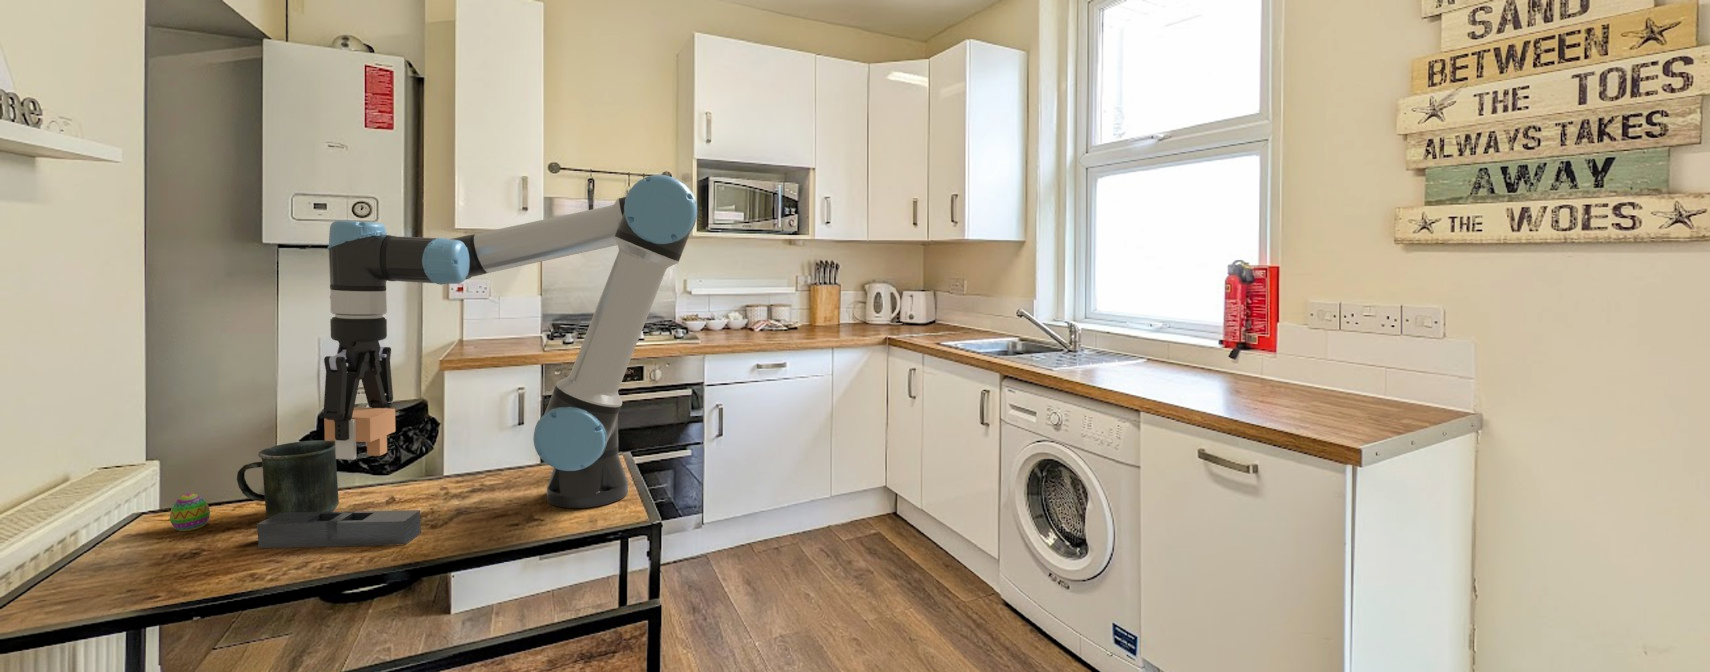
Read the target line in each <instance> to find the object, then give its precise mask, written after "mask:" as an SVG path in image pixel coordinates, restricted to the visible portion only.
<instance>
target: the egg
mask: <svg viewBox="0 0 1710 672" xmlns="http://www.w3.org/2000/svg"><path fill="white" fill-rule="evenodd" d="M210 517H211V510H210V506H209V503H208V501H206V499H204V497H202V496H201V495H199V494H196V493H185V494H183V495H181V496H180V497H179V498H178V499H176V501H175V502H174V503H173V505H172V507H171V510H170V515H169V519H170V523H171V526H172V528H174V529H175V530H176V531H179V532H191V531H196V530H198V529H202V528H203V527H204V526H205V525H206V524H207V523H208V522H209V520H210Z"/></svg>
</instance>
